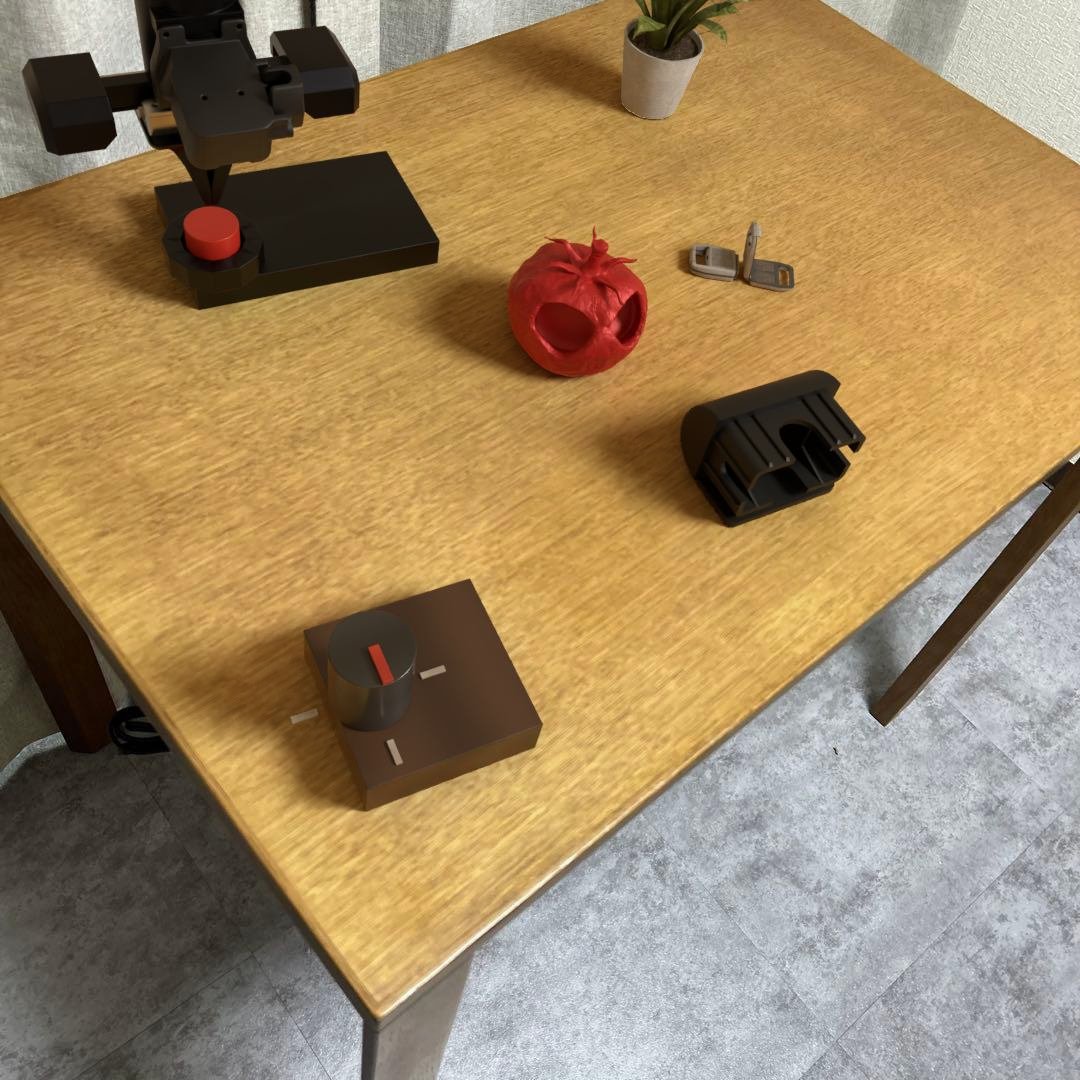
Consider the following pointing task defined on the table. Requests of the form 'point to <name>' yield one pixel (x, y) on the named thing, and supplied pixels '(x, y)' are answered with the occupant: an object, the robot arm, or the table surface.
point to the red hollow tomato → (576, 307)
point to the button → (212, 233)
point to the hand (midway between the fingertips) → (210, 202)
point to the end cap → (769, 446)
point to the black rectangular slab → (301, 229)
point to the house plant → (665, 52)
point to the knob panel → (435, 700)
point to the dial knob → (371, 670)
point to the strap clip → (727, 264)
